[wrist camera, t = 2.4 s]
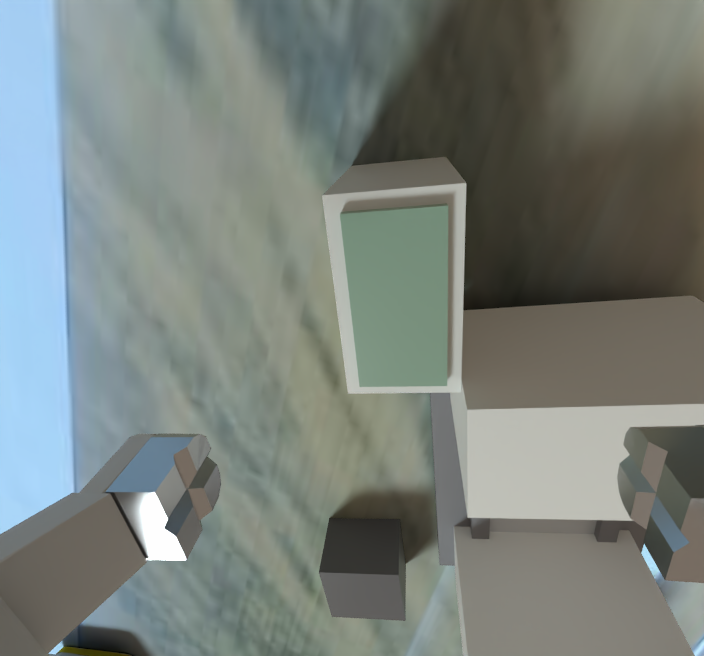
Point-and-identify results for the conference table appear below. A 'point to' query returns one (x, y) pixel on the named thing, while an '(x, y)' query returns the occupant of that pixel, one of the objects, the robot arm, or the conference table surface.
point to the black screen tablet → (85, 652)
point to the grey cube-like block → (364, 568)
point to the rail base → (560, 473)
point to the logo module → (399, 274)
